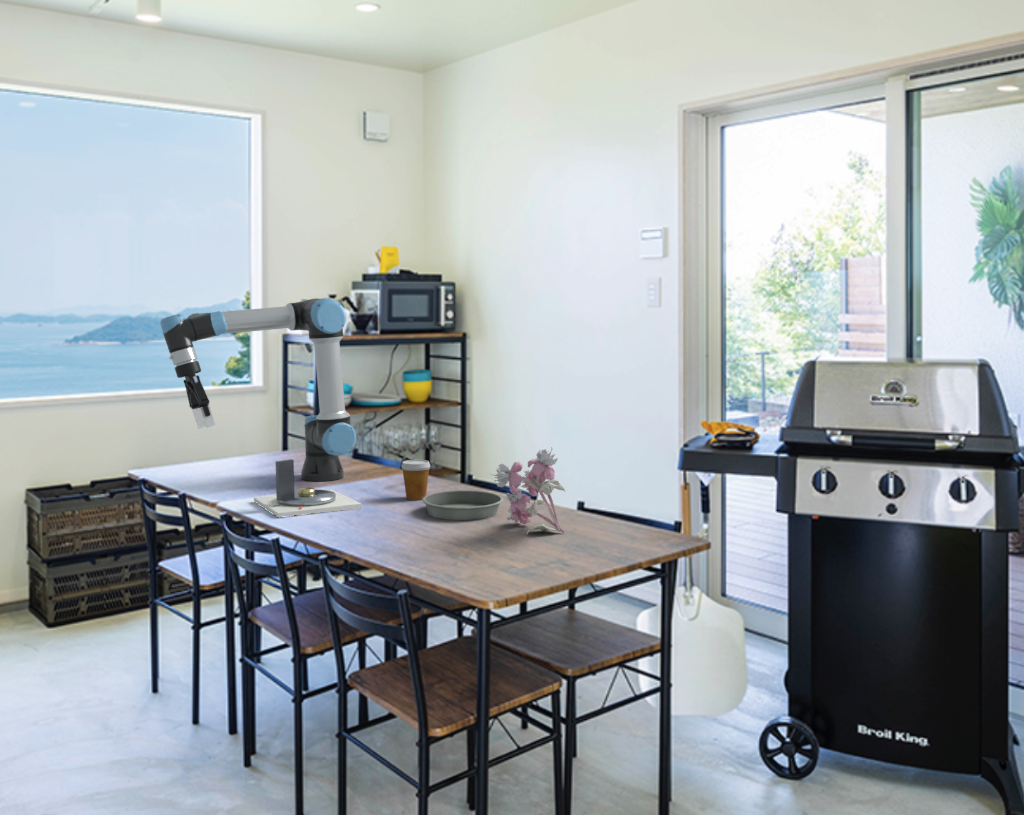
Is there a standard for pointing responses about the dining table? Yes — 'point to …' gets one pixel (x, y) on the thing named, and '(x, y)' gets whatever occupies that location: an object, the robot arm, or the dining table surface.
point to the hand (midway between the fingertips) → (206, 427)
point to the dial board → (288, 510)
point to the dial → (301, 495)
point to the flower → (531, 489)
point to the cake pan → (462, 504)
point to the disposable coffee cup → (415, 478)
